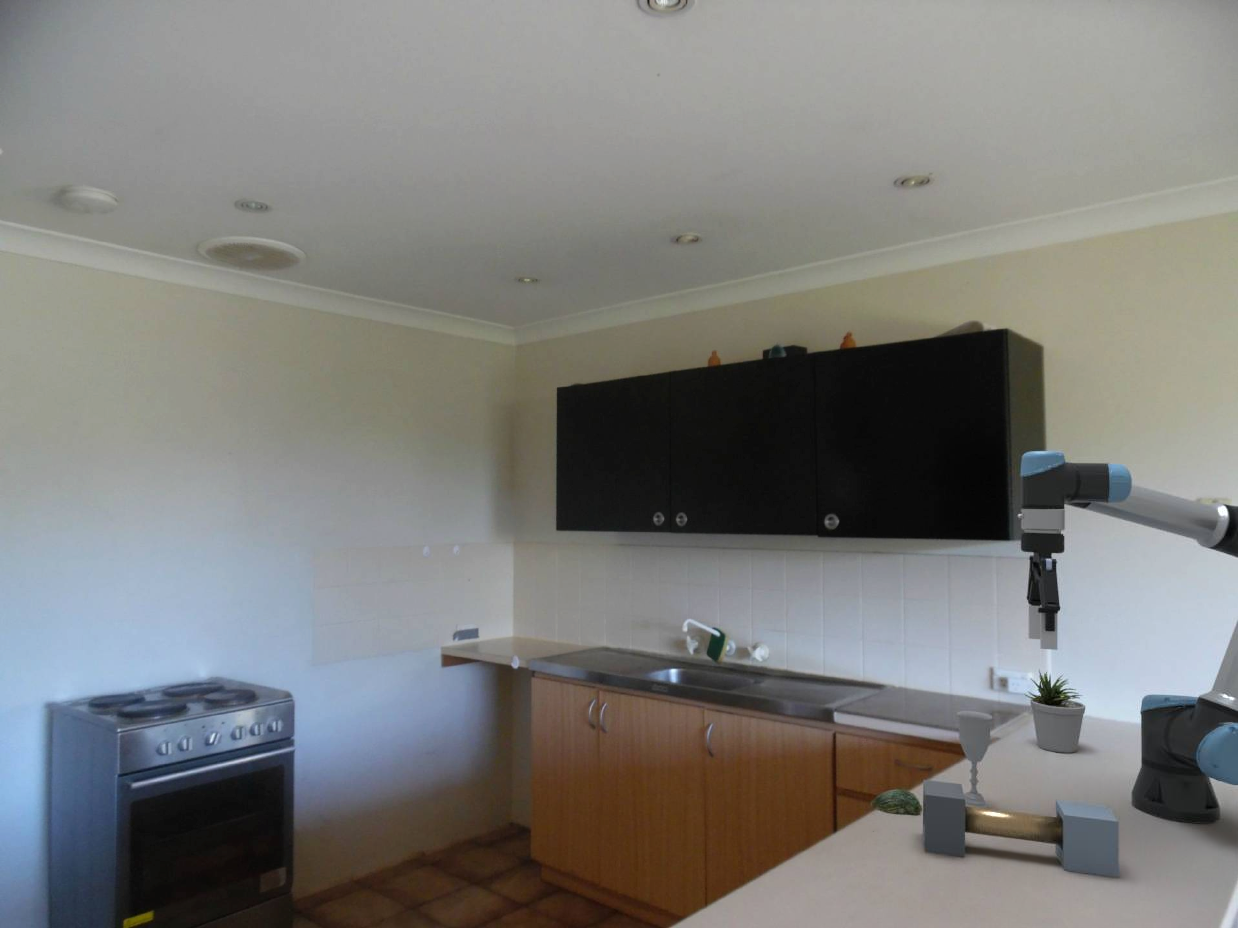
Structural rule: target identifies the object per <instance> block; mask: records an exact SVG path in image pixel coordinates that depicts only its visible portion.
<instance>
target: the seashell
mask: <svg viewBox="0 0 1238 928" xmlns="http://www.w3.org/2000/svg"><path fill="white" fill-rule="evenodd" d="M870 806H871V807H872V808H873V809H875V810H877V811H880V812H882V813H887V814H893V815H901V816H903V815H904V816H905V815H913V816H920V813H921V812H923V805H921V803H920V799H919V798H918V797H917V796H916V794H915V793H913V792H911V791H909V790H907V789H902V788H901V789H900V788H897V789H889V790H887V791H884V792H881V793H880V794H879V795H877V796H876V797H875V798H874V799H873V800H871V801H870Z"/></svg>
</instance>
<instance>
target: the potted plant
mask: <svg viewBox="0 0 1238 928" xmlns="http://www.w3.org/2000/svg"><path fill="white" fill-rule="evenodd" d="M1038 673H1039V675H1038V676H1039V679H1040V682H1039V684H1038V683H1037V682H1036V681H1035V680H1034V679H1032V678H1031V677H1029V679H1030V680H1031V681H1032V682H1033V683H1034V684H1035V686H1036V687H1037V688H1038V689H1037V691H1038V693H1039V694H1037V695H1036V694H1034V693H1032V692H1031V691H1028V690H1027V693H1028V694H1029V695H1031V696H1029V695H1027V694H1026V693H1024V695H1025V697H1028V698H1029V700H1030V708H1031V710H1032V715H1033V722H1034V728H1035V737H1036V743H1037V745H1038V746H1039V748H1041V749H1043V750H1045V751H1050V752H1054V753H1061V754H1062V753H1064V754H1070V753H1074V752H1077V750H1078V747H1079V741H1080V736H1081V731H1082V725H1083V719H1084V715H1085V711H1086V705H1085V704H1083V703H1081V702H1078V701H1075V699H1081V697H1082V695H1081V694H1080V695H1079V692H1078V693H1077V692H1075V691H1076V690H1077V689H1075V688H1070V687H1069V688H1064V689H1062V688H1063V686H1065V685H1067V684H1068V681H1069V678H1066V679H1064V680H1063V678H1062V677H1063V675H1064V674H1062V675H1061V676H1059V677H1058V678H1057V679H1056V681H1055V682H1054V683H1053V685H1052V677H1051V675H1052V674H1049V677H1048V671H1047V670H1046V672H1044V675H1042V673H1041V670H1040V669H1038ZM1060 681H1061V682H1060ZM1069 690H1070V691H1069ZM1071 690H1073V691H1071ZM1069 694H1072V695H1069ZM1032 696H1033V697H1032ZM1073 699H1074V700H1073Z"/></svg>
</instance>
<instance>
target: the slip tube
mask: <svg viewBox="0 0 1238 928" xmlns="http://www.w3.org/2000/svg"><path fill="white" fill-rule="evenodd" d="M966 833H967V834H973V835H982V836H989V837H990V836H991V837H996V838H997V837H999V838H1006V839H1011V840H1021V841H1029V842H1034V843H1043V844H1050V845H1056V844H1057V845H1063V820H1062V818H1061V817H1056V816H1050V815H1043V814H1036V813H1026V812H1019V811H1010V810H1003V809H994V808H988V807H987V808H980V807H971V806H965V834H966Z"/></svg>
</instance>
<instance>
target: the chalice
mask: <svg viewBox="0 0 1238 928" xmlns="http://www.w3.org/2000/svg"><path fill="white" fill-rule="evenodd" d="M956 714H957V715H956V716H957V718H958V720H959V721H958V722H959V723H958V728H959V730H958V739H959V742H960V746H961V749H962V750H963V752H964V755H965V758H966V759H967V760H968V761H970V762H971V769H970V770H969V772H970V774H971V778H970V779H969V780H968V781H969V782H970V784H971V788H970V790H969V791H967V792H965V793H964V796H965V806H971V807H980V808H988V806H987V804H986V800H985V799H984V796H983V794H981V793H979V792H978V790H977V785H978V783H979V780H978V778H977V776H978V773H979V771H978V769H977V768H978V767H977V764H978V763H979V762H982V760H983V758H984V757H985V755H986V753H987V752H988V749H989V745H990V743H991V722H992V721H993V716H992V715H990V714H987V713H984V712H979V711H971V710H962V711H961V710H960V711H957V712H956Z"/></svg>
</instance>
